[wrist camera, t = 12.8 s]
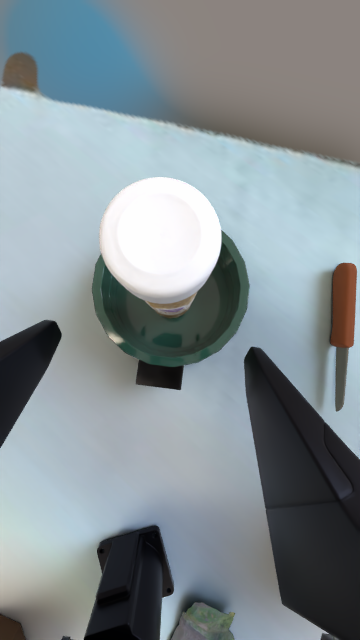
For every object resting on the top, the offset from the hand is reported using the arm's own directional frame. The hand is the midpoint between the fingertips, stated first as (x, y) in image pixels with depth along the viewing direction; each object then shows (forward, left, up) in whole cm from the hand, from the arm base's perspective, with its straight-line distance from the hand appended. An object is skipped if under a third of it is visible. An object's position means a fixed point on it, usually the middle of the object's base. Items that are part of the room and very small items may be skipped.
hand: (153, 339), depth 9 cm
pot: (+4, -2, -12) cm, 12 cm away
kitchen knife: (-5, -18, -12) cm, 22 cm away
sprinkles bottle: (+4, -1, -11) cm, 12 cm away
